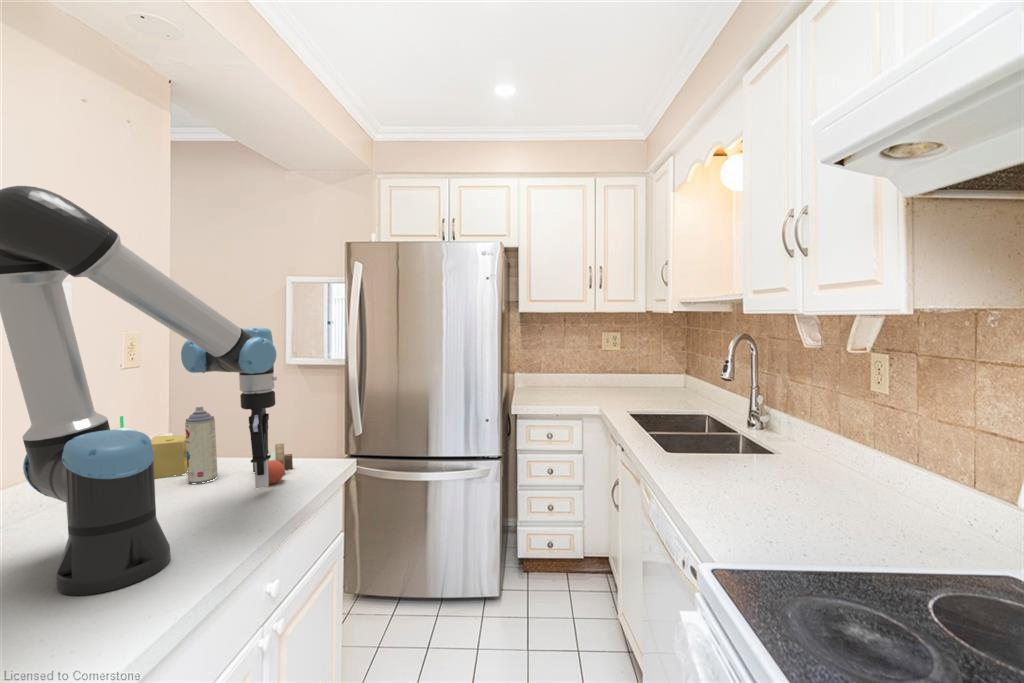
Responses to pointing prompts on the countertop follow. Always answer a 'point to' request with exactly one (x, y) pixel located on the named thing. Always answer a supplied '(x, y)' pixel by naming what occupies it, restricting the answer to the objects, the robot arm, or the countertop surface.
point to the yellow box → (169, 455)
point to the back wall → (287, 462)
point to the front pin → (272, 455)
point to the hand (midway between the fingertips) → (262, 486)
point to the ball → (275, 471)
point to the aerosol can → (201, 446)
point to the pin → (280, 454)
